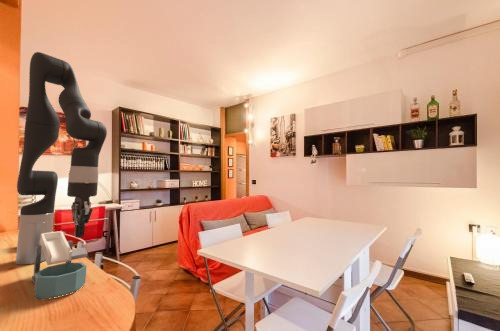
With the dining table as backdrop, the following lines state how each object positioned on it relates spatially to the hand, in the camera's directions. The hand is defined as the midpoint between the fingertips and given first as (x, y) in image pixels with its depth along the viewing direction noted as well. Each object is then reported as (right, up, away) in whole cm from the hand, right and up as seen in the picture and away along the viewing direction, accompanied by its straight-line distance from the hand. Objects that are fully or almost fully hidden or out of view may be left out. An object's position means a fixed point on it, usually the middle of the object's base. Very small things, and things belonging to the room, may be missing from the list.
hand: (79, 236), depth 69 cm
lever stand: (-8, -12, -1) cm, 15 cm away
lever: (-6, -7, +1) cm, 10 cm away
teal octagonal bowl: (+1, -12, -8) cm, 15 cm away
